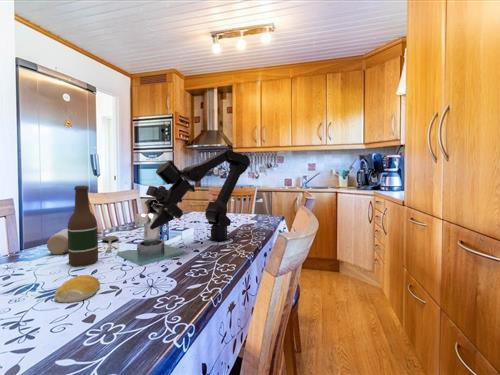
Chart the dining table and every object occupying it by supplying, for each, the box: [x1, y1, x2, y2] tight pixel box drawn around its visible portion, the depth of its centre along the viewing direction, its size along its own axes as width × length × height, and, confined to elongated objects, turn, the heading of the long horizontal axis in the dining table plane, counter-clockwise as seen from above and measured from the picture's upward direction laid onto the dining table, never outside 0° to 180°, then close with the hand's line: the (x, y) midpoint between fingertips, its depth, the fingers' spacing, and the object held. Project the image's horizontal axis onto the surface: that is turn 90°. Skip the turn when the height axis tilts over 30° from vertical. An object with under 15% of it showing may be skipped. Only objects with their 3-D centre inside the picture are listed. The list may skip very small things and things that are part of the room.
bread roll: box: [54, 274, 101, 303], centre depth 61 cm, size 8×9×4 cm
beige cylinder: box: [46, 228, 68, 256], centre depth 94 cm, size 11×8×8 cm
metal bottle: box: [134, 212, 161, 246], centre depth 90 cm, size 8×5×13 cm, turn 133°
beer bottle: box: [67, 185, 99, 268], centre depth 82 cm, size 8×8×24 cm
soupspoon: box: [100, 235, 120, 254], centre depth 103 cm, size 22×3×7 cm
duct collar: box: [116, 239, 186, 266], centre depth 91 cm, size 16×16×4 cm
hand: (146, 227), depth 90 cm, fingers open, 6 cm apart
